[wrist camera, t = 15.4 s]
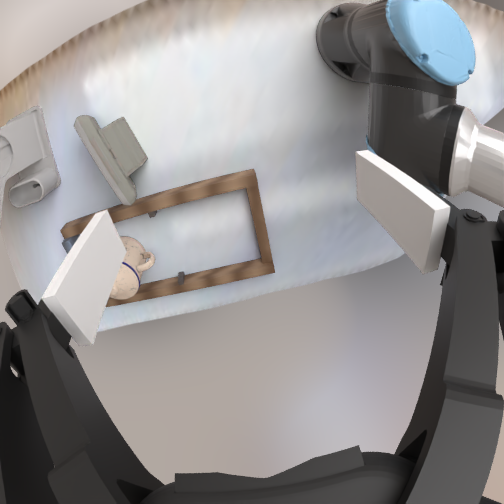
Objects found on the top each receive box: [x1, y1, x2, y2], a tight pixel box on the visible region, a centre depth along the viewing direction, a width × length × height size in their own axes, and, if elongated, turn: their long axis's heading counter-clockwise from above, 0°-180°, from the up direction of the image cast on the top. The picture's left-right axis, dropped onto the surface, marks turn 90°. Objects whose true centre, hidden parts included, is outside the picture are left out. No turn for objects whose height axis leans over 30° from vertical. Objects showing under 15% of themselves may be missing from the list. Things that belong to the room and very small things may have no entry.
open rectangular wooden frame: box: [60, 169, 275, 307], centre depth 53 cm, size 39×21×4 cm, turn 101°
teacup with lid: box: [109, 236, 155, 299], centre depth 50 cm, size 12×9×12 cm
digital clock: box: [74, 115, 148, 205], centre depth 39 cm, size 16×9×11 cm, turn 12°
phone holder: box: [0, 106, 61, 226], centre depth 33 cm, size 17×10×18 cm, turn 6°
